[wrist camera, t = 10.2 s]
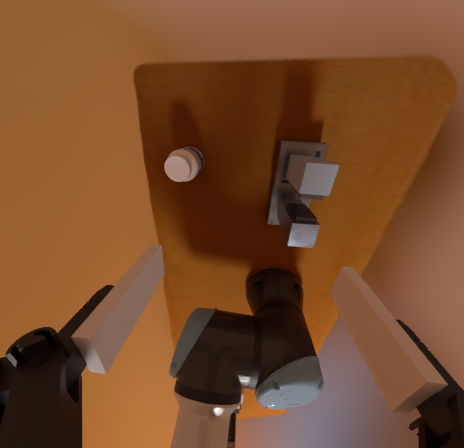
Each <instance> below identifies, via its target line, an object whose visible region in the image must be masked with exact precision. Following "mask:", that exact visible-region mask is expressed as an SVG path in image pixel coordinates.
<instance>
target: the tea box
mask: <svg viewBox="0 0 464 448" xmlns="http://www.w3.org/2000/svg"><path fill="white" fill-rule="evenodd" d="M235 436H236V413H232V414H231V416H230V423H229V433H228V443H227V448H235Z"/></svg>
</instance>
